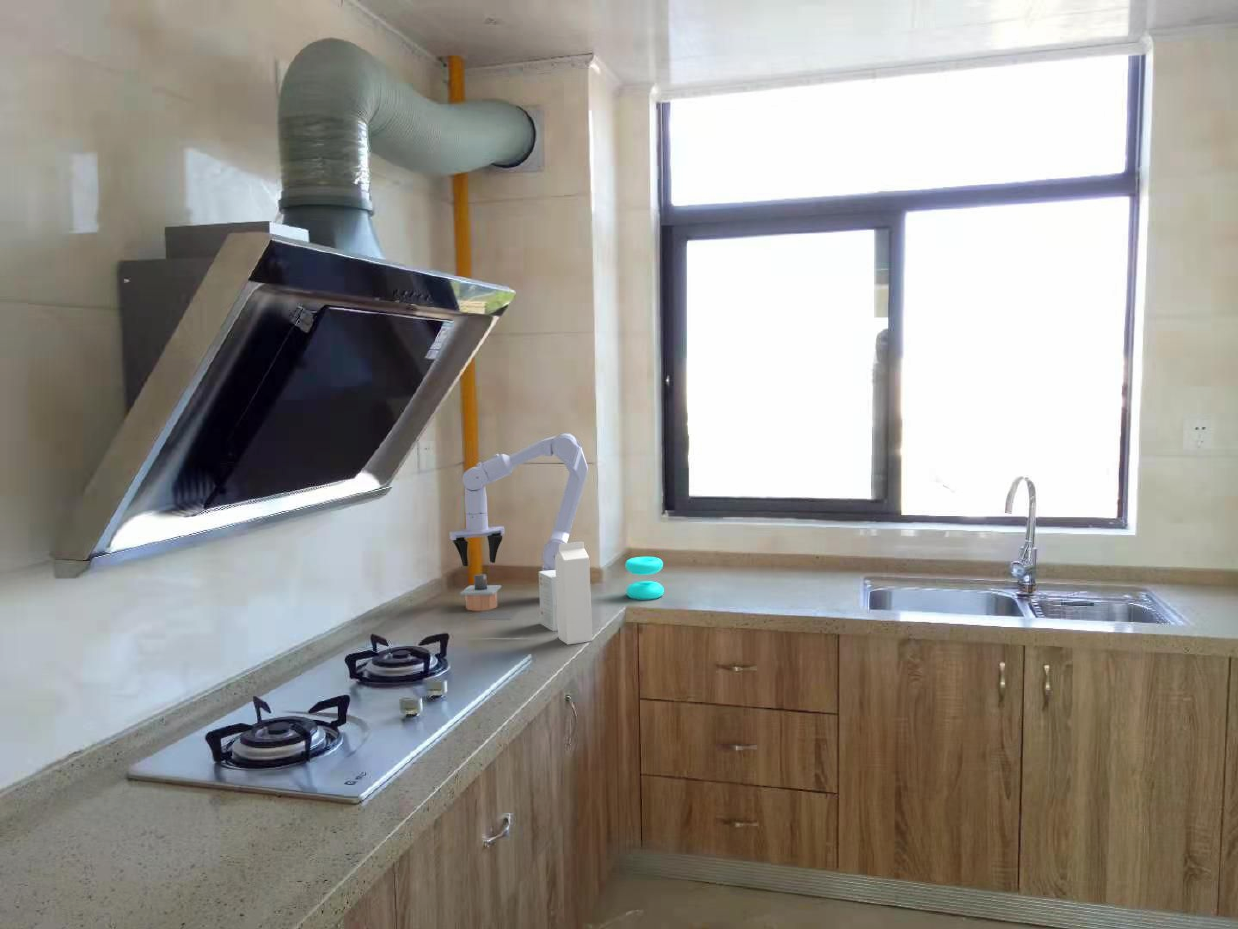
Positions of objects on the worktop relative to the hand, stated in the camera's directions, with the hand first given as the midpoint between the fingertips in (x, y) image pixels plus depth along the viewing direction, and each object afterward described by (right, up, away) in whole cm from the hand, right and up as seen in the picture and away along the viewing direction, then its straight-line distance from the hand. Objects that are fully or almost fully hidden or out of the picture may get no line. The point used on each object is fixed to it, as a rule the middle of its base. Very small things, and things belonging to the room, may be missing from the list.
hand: (478, 564), depth 250 cm
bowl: (+2, -11, -5) cm, 12 cm away
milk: (+27, -13, -38) cm, 49 cm away
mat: (+7, -12, -15) cm, 20 cm away
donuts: (+44, -9, +2) cm, 45 cm away
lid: (+1, -6, -6) cm, 9 cm away
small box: (+23, -12, -26) cm, 37 cm away
